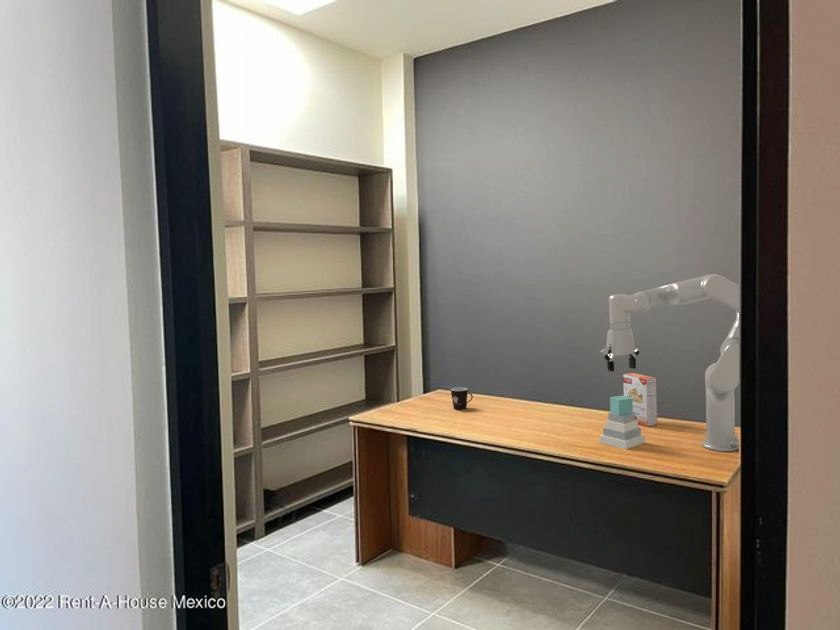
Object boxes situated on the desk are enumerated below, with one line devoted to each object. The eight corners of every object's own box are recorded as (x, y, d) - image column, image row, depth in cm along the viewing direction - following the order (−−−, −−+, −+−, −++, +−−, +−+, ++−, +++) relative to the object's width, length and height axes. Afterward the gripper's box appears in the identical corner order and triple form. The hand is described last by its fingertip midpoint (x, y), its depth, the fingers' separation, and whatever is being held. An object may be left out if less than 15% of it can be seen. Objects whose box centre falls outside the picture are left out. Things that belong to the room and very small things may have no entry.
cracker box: (623, 420, 268) (622, 373, 266) (634, 418, 270) (632, 372, 268) (647, 427, 255) (646, 378, 253) (657, 425, 258) (656, 377, 256)
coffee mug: (448, 408, 307) (447, 388, 307) (463, 405, 311) (462, 386, 310) (459, 412, 297) (458, 392, 296) (474, 410, 301) (473, 390, 300)
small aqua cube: (623, 410, 239) (623, 395, 238) (632, 413, 233) (632, 398, 233) (610, 412, 237) (610, 397, 237) (619, 415, 232) (618, 400, 231)
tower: (644, 442, 235) (644, 412, 234) (625, 449, 228) (624, 418, 227) (618, 436, 245) (618, 407, 244) (599, 442, 238) (598, 413, 237)
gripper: (633, 323, 240) (634, 365, 241) (595, 327, 235) (597, 370, 236) (645, 324, 232) (646, 368, 234) (606, 329, 228) (608, 373, 229)
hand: (621, 369), depth 235 cm, fingers open, 9 cm apart
